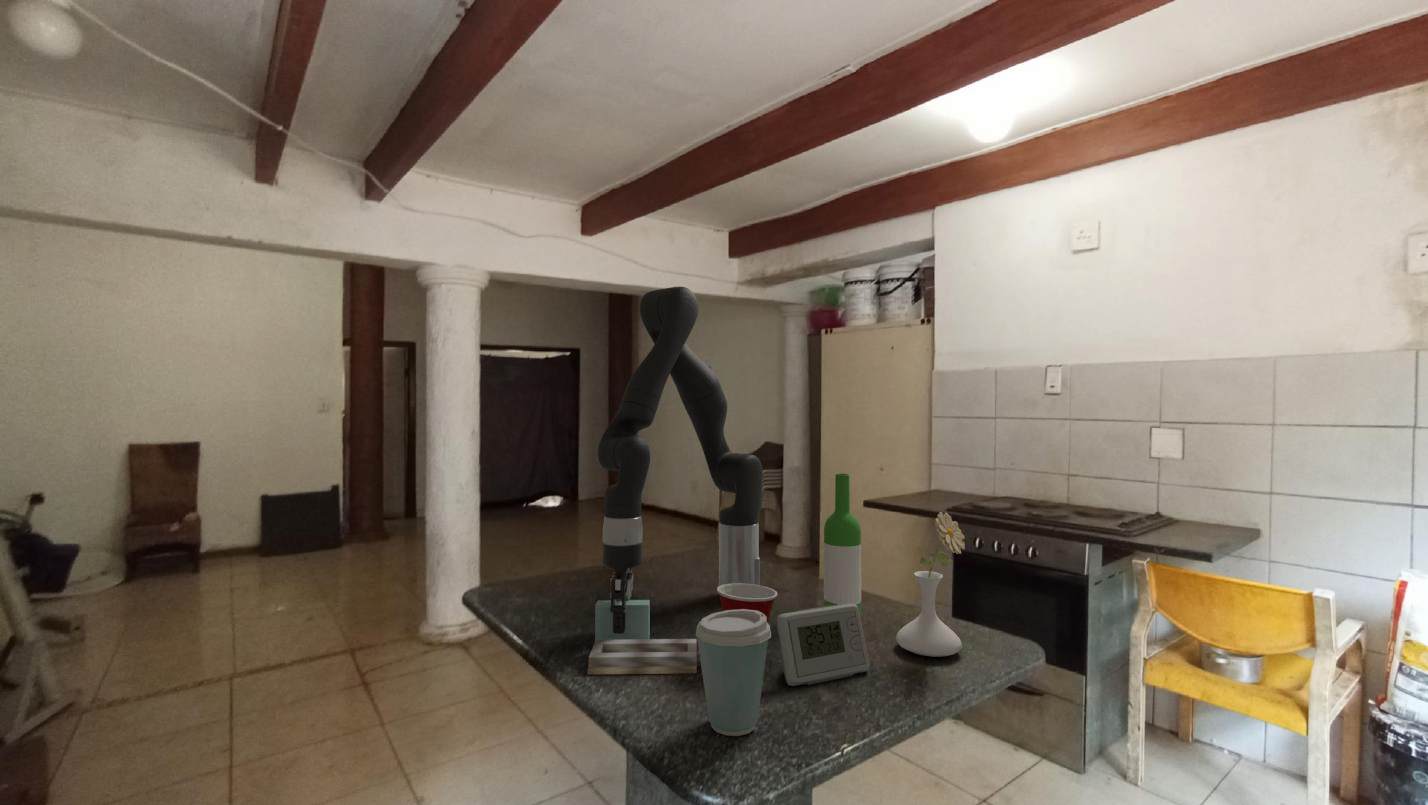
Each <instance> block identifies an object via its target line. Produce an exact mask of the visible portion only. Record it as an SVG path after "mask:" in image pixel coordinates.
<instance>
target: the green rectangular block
mask: <svg viewBox="0 0 1428 805" xmlns="http://www.w3.org/2000/svg"><path fill="white" fill-rule="evenodd" d="M650 601H651V600H650V599H630V600H629V601H627V602H626V608H627V610H626V613H625V632H624V633H622V634H615V633H613V613H611V610H610V608H611V599H610V600H609V599H608V600H607V599H605V600H604V599H603V600H602V599H601V600H600V599H598V600H597V602H595V605H594V606H595V607H594V608H595V609H594V622H595V624H594V632H595V633H594V635H595V638H594V642H595V641H596V640H628V639H650V636H651V634H650V633H651V632H650V630H651V629H650V627H651V626H650V623H651V622H650V621H651V620H650V617H651V616H650V613H651V612H650V611H651V610H650V609H651V606H650V605H651V604H650V603H651V602H650ZM616 606H622V601H617V602H616Z"/></svg>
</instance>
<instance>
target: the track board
mask: <svg viewBox="0 0 1428 805" xmlns="http://www.w3.org/2000/svg"><path fill="white" fill-rule="evenodd" d="M697 650H698V649H697V638H659V639H658V638H649V639H628V640H596V641H595V640H594V644H593V646H592V648H591V651H590V653H589V656H588V668H587V675H636V674H637V675H645V674H646V675H654V674H655V675H657V674H658V675H659V674H661V675H662V674H666V675H667V674H670V675H671V674H673V675H674V674H697V672H698V671H697V669H698V668H697V667H698V666H697V665H698V664H697V658H698V656H697Z"/></svg>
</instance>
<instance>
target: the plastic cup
mask: <svg viewBox="0 0 1428 805" xmlns="http://www.w3.org/2000/svg"><path fill="white" fill-rule="evenodd" d="M716 591H717V593H718V597H719V596H720V597H719V600H720V601H719V602H720V606H721V609H722V611H726V610H738V609H747V610H757V611H759V612H761V613H763V614H764V615H765V616H766V620H767V623H768V624H769V622H770V618H771V611H772V608H773V605H774V603H775V599H776V598H778V592H777V591H776V590H775V589H773V588H770V587H767V586H765V585H764V586H763V585H760V586H759V585H754V584H742V583H735V584H725V585H721V586H719V585H718V586H717V587H716ZM722 611H721V612H722ZM769 625H770V624H769Z"/></svg>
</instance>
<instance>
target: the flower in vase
mask: <svg viewBox="0 0 1428 805" xmlns="http://www.w3.org/2000/svg"><path fill="white" fill-rule="evenodd" d="M934 525H935V527H936V532H937V534H938V539H939V542H938V544H937V547H936V549H935V553H934V556H933V560H929V559H927V558H925V557H923V556H921V557H920V561H919V564H920V565H923V566H926V567H929V570H928V571H927V570H926V571H925V570H923V571H922V570H921V571H920V570H919V571H915V572H914V573H913V575H914V576H915V578H916V579H917V581H918V583H919V587H920V592H921V612H920V613H919V615H918V616H917V617H916V618H914V619H913V620H912V621H910V622H908V623H907V624H906V625H904V626H903V627H902V628H901V629H899V630H898V631H897V634H896V636H895V640H896V642H897V643H898V645H899V646H900V648H902V649H904V650H907V651H909V652H911V653H913V654H916V655H920V656H926V657H936V658H939V657H940V658H941V657H948V656H951V655H952V656H953V655H955V654H957V653H959V651H961V649H962V647H963V643H962V641H961V639H960V637H959V636H958V635H957V634H956V633H955V632H954V631H953V630H952V629H951V628H950V627H949V626H947V625H946V624H945V623H944V622H943V621H942V620H941V619H940V618H939V617H938V616H937V612H936V604H935V603H936V594H937V588H938V586H939V583H940V582H941V580H942V579H943V577H944V575H943V574H941V573H939V572H936V571H933V568H934V565H935V564H936V560H937V562H938V563H939V564H941V565H942V566H944V567H945V566H946V567H947V566H949V564H951V563H952V559H951V557H950V556H949V554H947V553H946V552H944V551H939V549H940V547H941V544H943V546H945V548H946V550H947V551H951V552H952V553H953V554H954V553H955V554H957V555H961V554H962V550H965V549H966V546H965V545H966V543H965V541H963V540H965V538H966V537H965V535H964V534H963V533H962V530H961V529H960V528H959V524H958V521H955V520H954V521H953V519H952V516H951V515H949V513H948V512H945V513H943V512H942V511H940V512H939V513H938V514H937V517H936V518H935V523H934ZM961 549H962V550H961Z"/></svg>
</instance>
